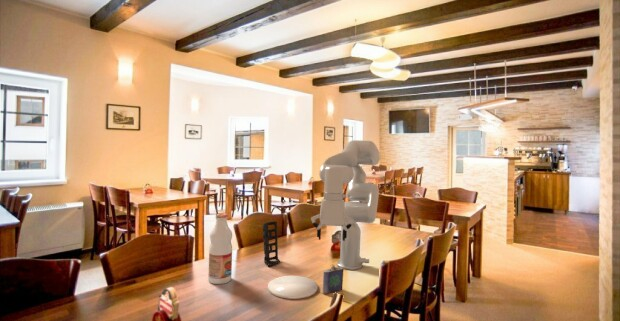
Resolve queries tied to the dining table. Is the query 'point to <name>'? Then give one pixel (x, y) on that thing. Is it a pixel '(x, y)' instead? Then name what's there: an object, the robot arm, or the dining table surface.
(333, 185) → the robot arm
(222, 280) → the fruit juice
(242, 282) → the dining table surface
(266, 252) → the holder
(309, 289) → the plate
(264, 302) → the dining table surface
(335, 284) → the flask
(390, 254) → the dining table surface
